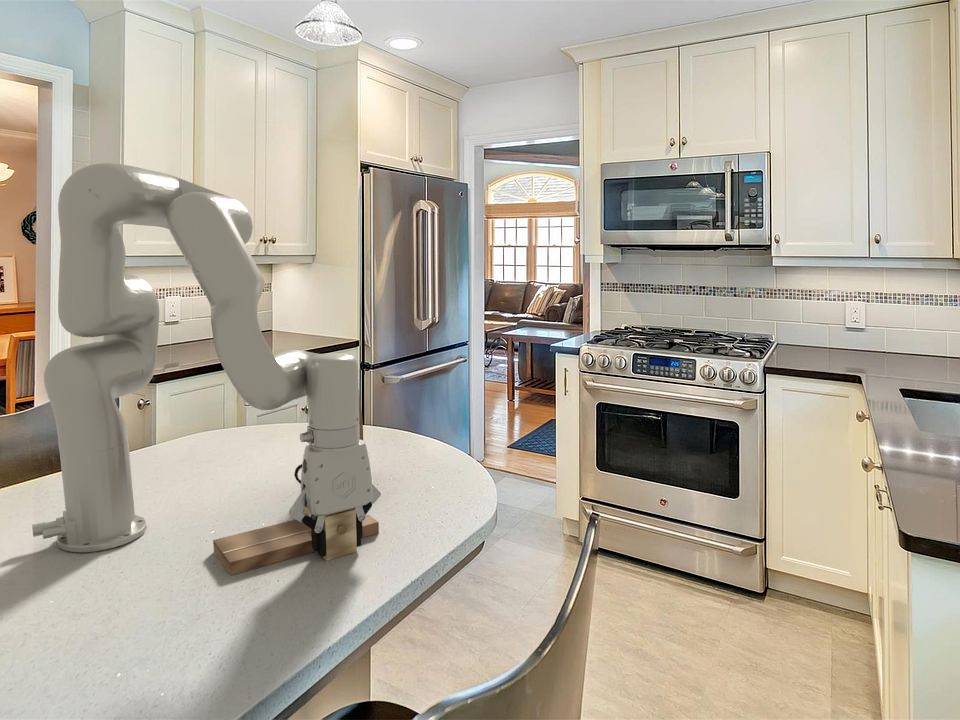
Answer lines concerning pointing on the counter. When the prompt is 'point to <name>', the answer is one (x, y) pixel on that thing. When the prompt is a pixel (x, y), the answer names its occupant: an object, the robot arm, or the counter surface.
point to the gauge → (339, 533)
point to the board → (272, 544)
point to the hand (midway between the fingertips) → (337, 547)
